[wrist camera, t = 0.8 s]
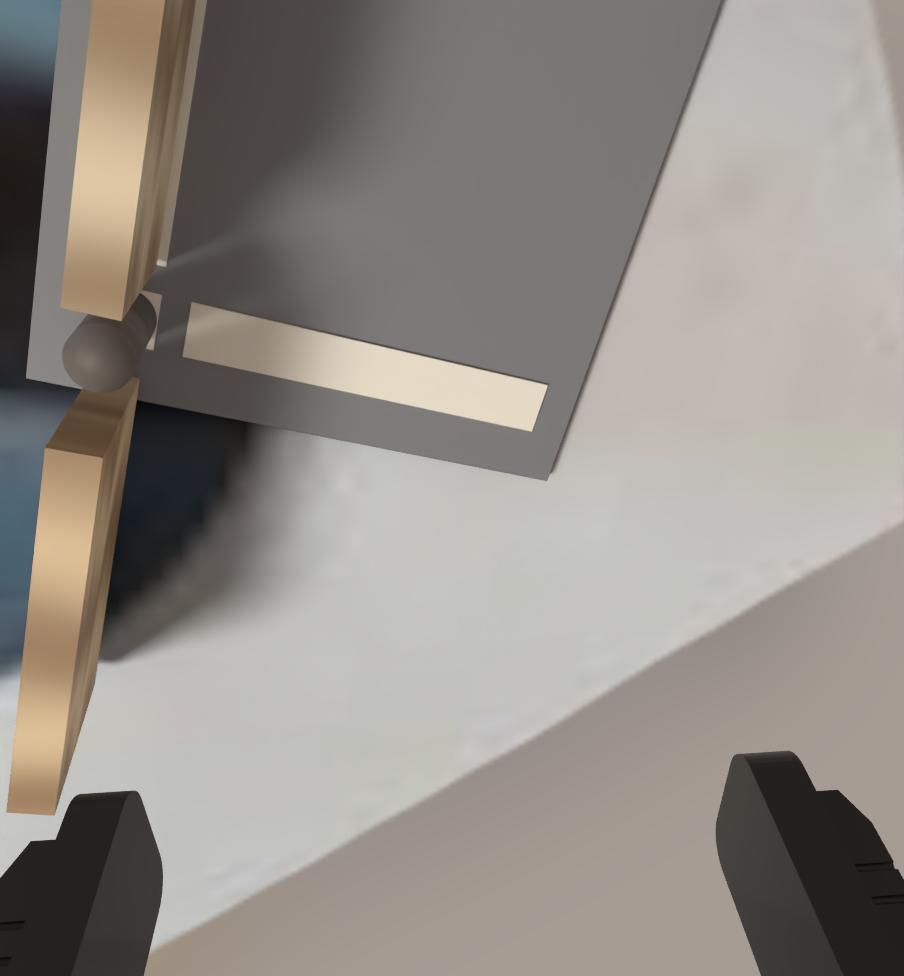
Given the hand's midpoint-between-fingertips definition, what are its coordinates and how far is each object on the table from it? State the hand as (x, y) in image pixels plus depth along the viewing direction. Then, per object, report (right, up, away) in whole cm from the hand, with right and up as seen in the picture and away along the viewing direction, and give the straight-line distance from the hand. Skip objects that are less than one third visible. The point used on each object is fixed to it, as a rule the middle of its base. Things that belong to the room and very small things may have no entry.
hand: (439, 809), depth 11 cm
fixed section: (-9, +17, +15) cm, 25 cm away
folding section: (-13, +2, +21) cm, 25 cm away
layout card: (-3, +15, +17) cm, 23 cm away
